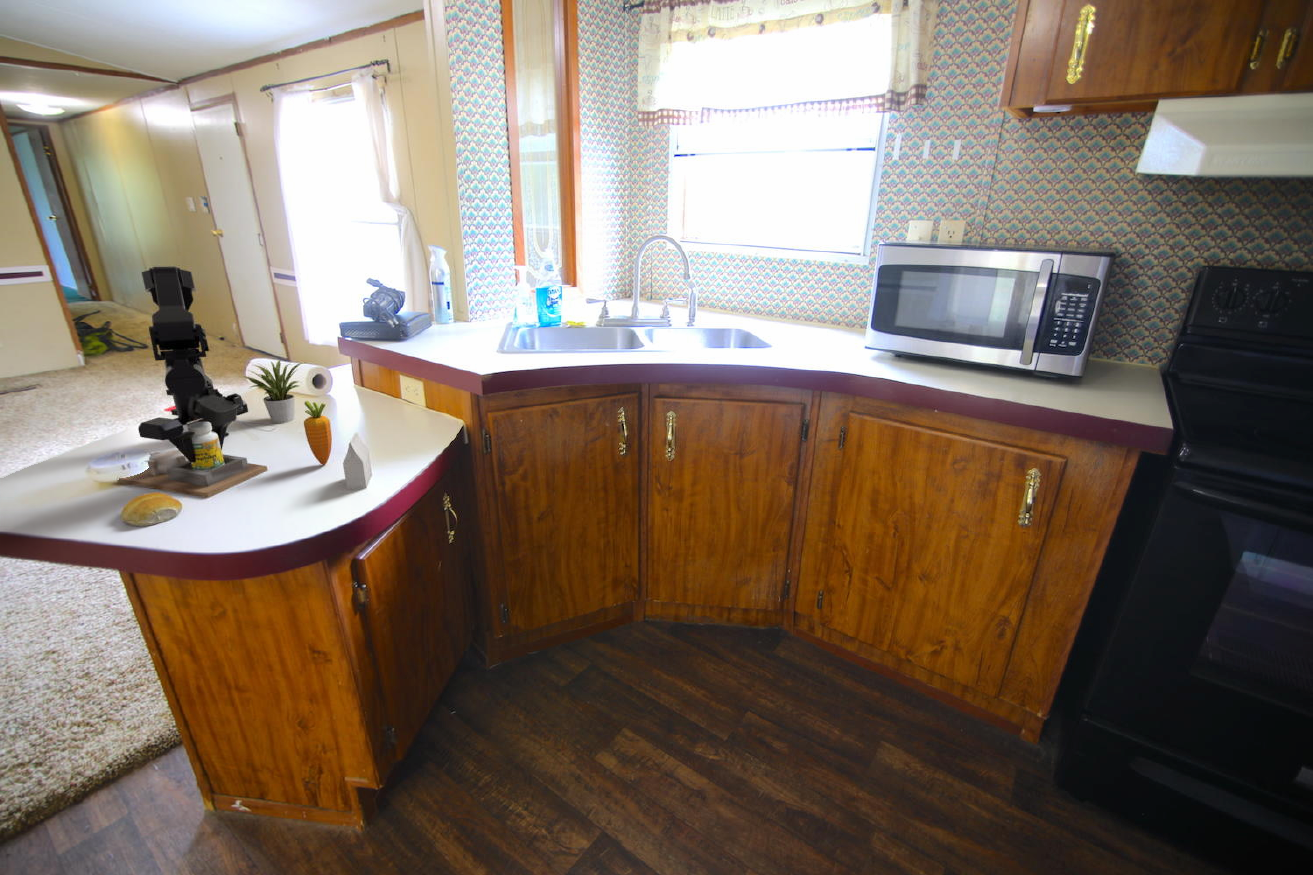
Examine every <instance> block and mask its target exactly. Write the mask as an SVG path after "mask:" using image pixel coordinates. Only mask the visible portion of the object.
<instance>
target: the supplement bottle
mask: <svg viewBox="0 0 1313 875" xmlns="http://www.w3.org/2000/svg"><path fill="white" fill-rule="evenodd" d="M187 427H188V431H189V432H195V434H194V435H193V437H192V443H193V448H194V452H195V457H196V462H194V463H193V462H191V464H192V468H193V470H196V471H202V472H207V471H210V470H212V469H215V468H217V467H219V466H222V465H224V464H225V463H224V459H223V455H222V454H223V449H222V450H221V446H220V442H219V438H218V435H217V433H215V432H213V431H211V430H212V426H211V423H210V422H196V423H193V424H190V425H187Z"/></svg>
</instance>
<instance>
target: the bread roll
mask: <svg viewBox="0 0 1313 875" xmlns="http://www.w3.org/2000/svg"><path fill="white" fill-rule="evenodd" d="M182 510H183V505H182V503H181V501H180V500H178V499H176V498H174V497H173V496H172V495H169V494H167V493H164V492H149V493H144V494H141V495H138V496H135V497H134V498H132V499H131V500H129V501H128V502H127V503H126V504H125V505H124V506H123V508H122V510H121V513H120V518H121V520H122V521H123V522H125V523H127V524H128V525H130V526H133V527H148V526H154V525H157V524H161V523H166V522H168V521H170V520H173V519H175V518H177V517H178V516H179V514H181V511H182Z"/></svg>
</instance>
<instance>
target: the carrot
mask: <svg viewBox="0 0 1313 875" xmlns="http://www.w3.org/2000/svg"><path fill="white" fill-rule="evenodd" d="M303 404H304V405H305V406H306V408H307V409H308V410H307V409H306V410H305V411H304V413H306V414H308V415H310V416H308V417H306V419H305V420H304V421H303V427H304V431H305V435H306V436H305V437H306V440H307V443H308V445H309V448H310V451H311V452H312V454H313V456H314V458H315V459H316V460H317V461H318V462H319V464H321V465H322V466H325V465H326V464H328V461H329V458H330V457H331V456H330V455H331V452H332V442H333V441H332V440H333V438H332V429H331V421H330V418H328V417H326V416H325V415H322V413H323V410H324V408H326V407H325V406H326V403H324V402H322V403H321V404H320V406H319V404H318V403H317V402H315V401H314V402H312V404H313V405H312V404H311V402H310V401H309V400H305V401H304V403H303Z"/></svg>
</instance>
